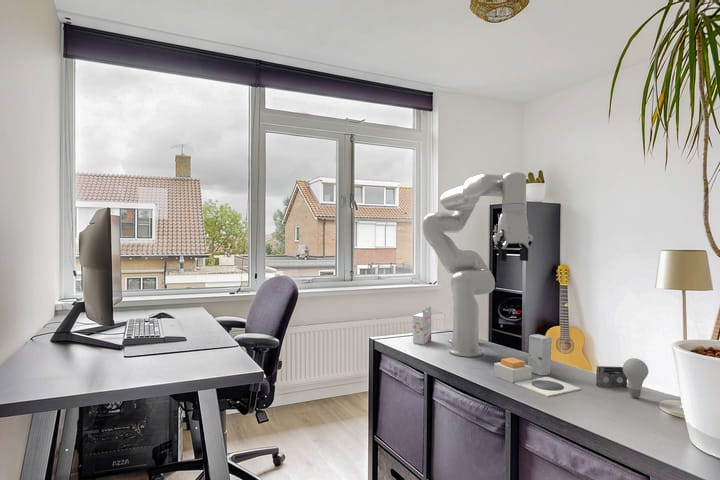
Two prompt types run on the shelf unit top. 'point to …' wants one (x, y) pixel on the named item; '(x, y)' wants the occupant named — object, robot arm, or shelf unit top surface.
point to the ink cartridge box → (422, 327)
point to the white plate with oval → (547, 386)
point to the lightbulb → (635, 375)
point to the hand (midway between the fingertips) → (513, 260)
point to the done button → (512, 362)
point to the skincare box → (539, 354)
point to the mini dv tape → (610, 377)
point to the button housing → (512, 373)
